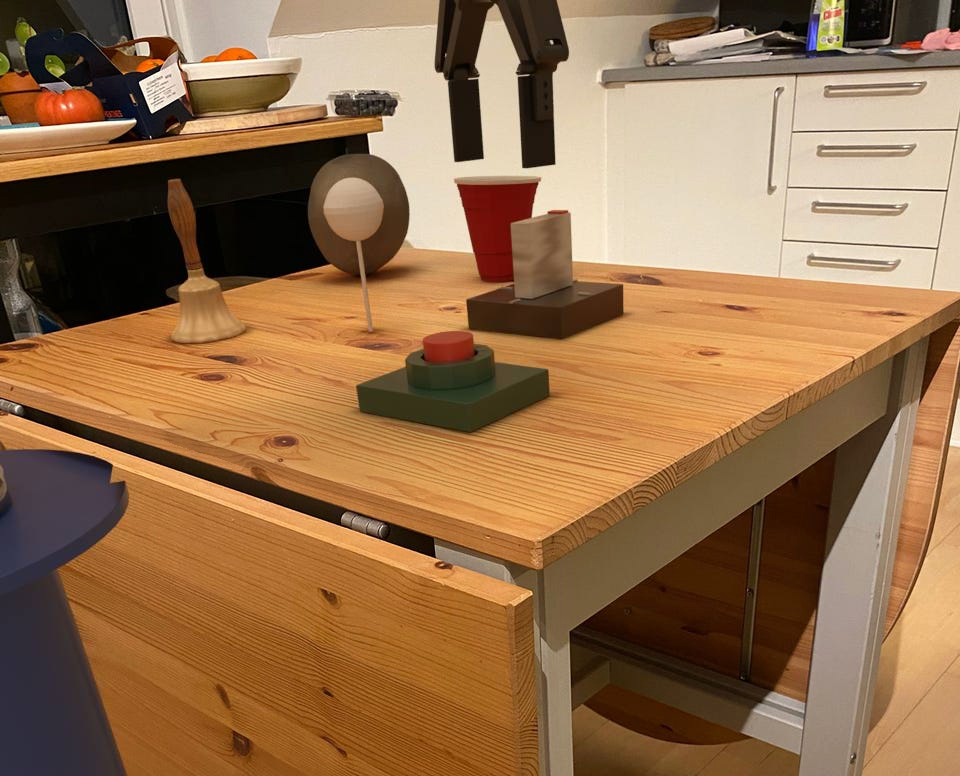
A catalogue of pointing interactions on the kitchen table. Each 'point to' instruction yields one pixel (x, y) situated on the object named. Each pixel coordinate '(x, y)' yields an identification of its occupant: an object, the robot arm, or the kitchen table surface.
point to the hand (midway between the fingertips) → (501, 163)
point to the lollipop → (355, 218)
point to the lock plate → (546, 310)
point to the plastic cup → (495, 218)
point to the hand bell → (197, 282)
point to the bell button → (448, 346)
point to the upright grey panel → (542, 254)
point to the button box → (454, 390)
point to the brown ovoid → (393, 220)
